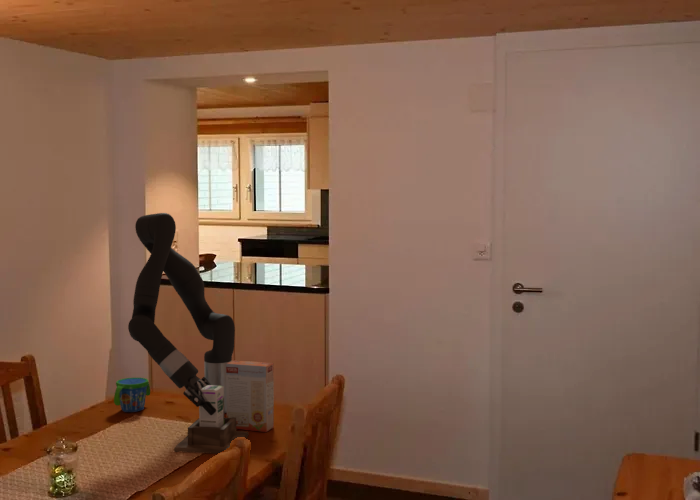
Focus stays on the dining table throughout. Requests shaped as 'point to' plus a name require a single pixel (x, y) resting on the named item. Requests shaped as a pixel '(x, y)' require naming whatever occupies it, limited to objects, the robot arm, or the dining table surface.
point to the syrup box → (217, 400)
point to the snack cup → (131, 394)
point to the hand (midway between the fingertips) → (217, 409)
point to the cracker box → (250, 394)
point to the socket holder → (210, 437)
